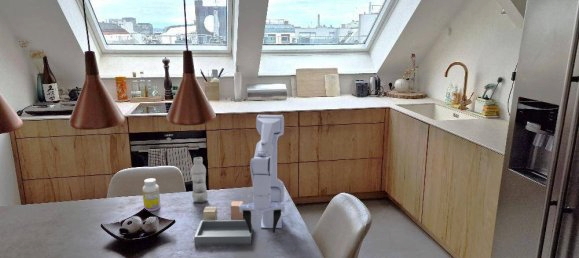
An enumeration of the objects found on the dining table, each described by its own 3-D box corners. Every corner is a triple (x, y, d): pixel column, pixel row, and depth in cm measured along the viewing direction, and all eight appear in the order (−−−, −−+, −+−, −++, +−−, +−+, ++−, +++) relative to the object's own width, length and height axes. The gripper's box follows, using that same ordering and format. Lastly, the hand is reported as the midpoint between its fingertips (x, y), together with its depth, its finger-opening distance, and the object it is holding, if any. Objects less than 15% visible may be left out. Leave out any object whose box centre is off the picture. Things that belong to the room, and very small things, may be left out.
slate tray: (201, 228, 155) (200, 220, 154) (252, 228, 156) (252, 219, 155) (194, 245, 143) (194, 236, 142) (250, 245, 144) (250, 236, 143)
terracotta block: (232, 214, 167) (231, 201, 166) (243, 214, 167) (243, 201, 166) (231, 219, 163) (230, 206, 161) (242, 219, 163) (242, 205, 161)
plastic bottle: (204, 204, 176) (202, 161, 172) (190, 203, 178) (187, 160, 173) (210, 198, 182) (208, 156, 178) (196, 197, 184) (193, 155, 179)
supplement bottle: (148, 204, 176) (145, 176, 173) (163, 205, 176) (160, 177, 173) (141, 211, 170) (138, 182, 167) (156, 212, 169) (154, 183, 166)
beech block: (206, 220, 162) (205, 206, 161) (217, 220, 162) (216, 206, 161) (204, 225, 158) (203, 211, 156) (215, 225, 158) (214, 211, 156)
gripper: (237, 198, 126) (239, 237, 129) (284, 197, 126) (284, 237, 129) (239, 189, 132) (240, 227, 136) (284, 188, 133) (284, 226, 136)
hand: (262, 231), depth 133 cm, fingers open, 7 cm apart
